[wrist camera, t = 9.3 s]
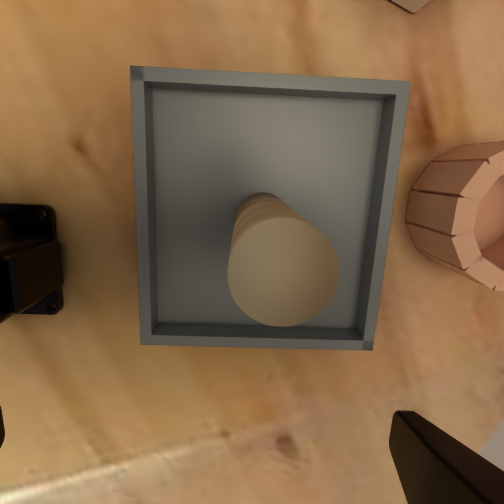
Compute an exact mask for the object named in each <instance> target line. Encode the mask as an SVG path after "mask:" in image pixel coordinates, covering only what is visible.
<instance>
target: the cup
mask: <svg viewBox="0 0 504 504" xmlns="http://www.w3.org/2000/svg"><path fill="white" fill-rule="evenodd" d="M432 161H433V162H430V163H429V165H428V166H427V167H426V169H425V170H424V171H423V173H422V174H421V176H420V177H419V178H418V180H417V181H416V182H415V184H414V185H413V187H412V189H413V190H412V191H410V195H409V202H408V208H407V215H406V220H407V221H408V222H407V223H406V224H407V227H408V229H409V232H410V234H411V237H412V239H413V241H414V244H415V246H416V248H418V250H419V251H420V252H422V253H423V254H425V255H426V256H428V257H429V258H431V259H432V260H434V261H435V262H437V263H438V264H440V265H442V266H444V267H446V268H448V269H450V270H452V271H454V272H456V273H458V274H460V275H462V276H464V277H466V278H469V279H471V280H473V281H475V282H477V283H479V284H481V285H483V286H485V287H487V288H489V289H491V290H494V291H504V141H501V142H491V143H481V144H472V145H464V146H460V147H458V148H456V149H454V150H452V151H450V152H448V153H446V154H444V155H442V156H440V157H438V158H436V159H434V160H432Z"/></svg>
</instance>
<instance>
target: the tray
mask: <svg viewBox="0 0 504 504" xmlns="http://www.w3.org/2000/svg"><path fill="white" fill-rule="evenodd" d="M130 79H131V106H132V132H133V158H134V184H135V211H136V237H137V263H138V290H139V316H140V342H141V345H173V346H213V347H252V348H291V349H331V350H370V351H372V350H373V343H374V336H375V329H376V322H377V315H378V308H379V301H380V294H381V287H382V280H383V273H384V266H385V259H386V252H387V245H388V238H389V231H390V224H391V217H392V210H393V203H394V196H395V189H396V182H397V175H398V168H399V161H400V154H401V147H402V140H403V133H404V126H405V119H406V112H407V105H408V98H409V91H410V84H411V81H395V80H377V79H360V78H342V77H324V76H306V75H288V74H270V73H252V72H234V71H216V70H199V69H181V68H163V67H145V66H130ZM259 192H265V193H270V194H273V195H275V196H277V197H278V198H280V199H281V200H282V201H283V202H284V203H286V204H287V205H288V206H289V207H291V208H292V209H293V210H294V211H295V212H297V213H298V214H299V215H300V216H301V217H303V218H304V219H305V220H306V221H307V222H309V223H310V224H311V225H312V226H314V227H315V228H316V229H317V230H318V231H320V232H321V233H322V234H323V235H324V236H325V237H326V238H327V239H328V241H329V242H330V243H331V245H332V247H333V248H334V250H335V253H336V255H337V259H338V263H339V279H338V284H337V288H336V291H335V293H334V295H333V297H332V299H331V300H330V302H329V303H328V304H327V306H326V307H325V308H324V309H323V310H322V311H321V312H320V313H319V314H317V315H316V316H315V317H313V318H311V319H310V320H308V321H306V322H303V323H301V324H297V325H293V326H287V327H277V326H270V325H266V324H263V323H260V322H258V321H256V320H254V319H252V318H251V317H249V316H248V315H246V314H245V313H244V312H243V311H242V310H241V309H240V308H239V307H238V305H237V304H236V302H235V301H234V299H233V297H232V295H231V292H230V289H229V285H228V276H227V273H228V263H229V256H230V249H231V242H232V235H233V228H234V221H235V214H236V211H237V208H238V206H239V205H240V203H241V202H242V201H243V200H244V199H245V198H246V197H248V196H249V195H252V194H254V193H259Z"/></svg>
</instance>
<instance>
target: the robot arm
mask: <svg viewBox="0 0 504 504" xmlns="http://www.w3.org/2000/svg"><path fill="white" fill-rule="evenodd" d="M41 210H44V211H45V213H46V217H43V216H42V215H41ZM62 284H63V271H62V261H61V250H60V244H59V242H58V241H57V236H56V226H55V215H54V211H53V209H52V208H51V207H50V206H48V205H45V204H23V203H0V323H2V322H3V321H5V320H6V319H8V318H10V317H11V316H13V315H14V314H46V315H53V314H56V313H58V312H59V311H60V310H61V309H62V308H63V299H62V289H61V285H62ZM50 303H53V304H54V305H55V308H53V307H51V305H50ZM4 438H5V429H4V423H3V416H2V410H1V406H0V448H1V446H2V444H3V441H4ZM389 447H390V452H391V455H392V458H393V461H394V464H395V467H396V470H397V473H398V476H399V479H400V482H401V485H402V488H403V491H404V494H405V497H406V500H407V503H408V504H504V471H502V470H501V469H499V468H498V467H496V466H495V465H493V464H492V463H490V462H489V461H487V460H486V459H484V458H483V457H482V456H480V455H479V454H477V453H476V452H474V451H473V450H471V449H470V448H468V447H467V446H465V445H464V444H462V443H461V442H459V441H458V440H456V439H455V438H453V437H452V436H450V435H449V434H447V433H446V432H444V431H443V430H441V429H440V428H438V427H437V426H435V425H434V424H432V423H431V422H429V421H428V420H426V419H425V418H423V417H422V416H420V415H419V414H417V413H416V412H414V411H406V410H398V411H396V412H395V413H394V415H393V419H392V425H391V431H390V437H389Z"/></svg>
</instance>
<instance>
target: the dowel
mask: <svg viewBox="0 0 504 504" xmlns="http://www.w3.org/2000/svg"><path fill="white" fill-rule="evenodd" d="M227 276H228V285H229V289H230V292H231V295H232V297H233V299H234V301H235V302H236V304H237V305H238V307H239V308H240V309H241V310H242V311H243V312H244V313H245V314H246V315H248V316H249V317H251V318H252V319H254V320H256V321H258V322H260V323H263V324H266V325H270V326H277V327H287V326H293V325H297V324H301V323H303V322H306V321H308V320H310V319H311V318H313V317H315V316H316V315H317V314H319V313H320V312H321V311H322V310H323V309H324V308H325V307H326V306H327V304H328V303H329V302H330V300H331V299H332V297H333V295H334V293H335V291H336V288H337V284H338V279H339V263H338V259H337V255H336V253H335V250H334V248H333V247H332V245H331V243H330V242H329V241H328V239H327V238H326V237H325V236H324V235H323V234H322V233H321V232H320V231H318V230H317V229H316V228H315V227H314V226H312V225H311V224H310V223H309V222H307V221H306V220H305V219H304V218H303V217H301V216H300V215H299V214H298V213H297V212H295V211H294V210H293V209H292V208H291V207H289V206H288V205H287V204H286V203H284V202H283V201H282V200H281V199H280V198H278V197H277V196H275V195H273V194H270V193H265V192H259V193H254V194H252V195H249V196H248V197H246V198H245V199H244V200H243V201H242V202H241V203H240V205H239V206H238V208H237V211H236V214H235V221H234V228H233V235H232V242H231V249H230V256H229V263H228V273H227Z"/></svg>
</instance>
